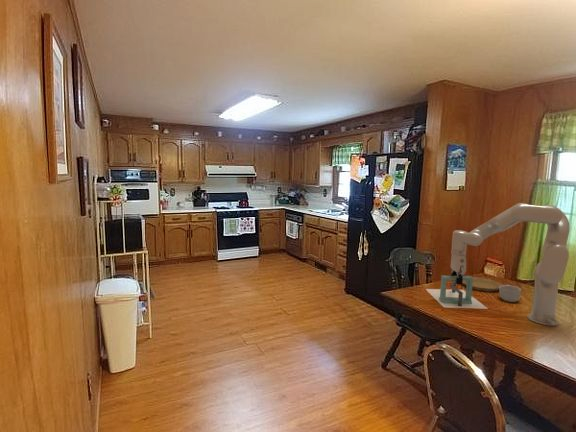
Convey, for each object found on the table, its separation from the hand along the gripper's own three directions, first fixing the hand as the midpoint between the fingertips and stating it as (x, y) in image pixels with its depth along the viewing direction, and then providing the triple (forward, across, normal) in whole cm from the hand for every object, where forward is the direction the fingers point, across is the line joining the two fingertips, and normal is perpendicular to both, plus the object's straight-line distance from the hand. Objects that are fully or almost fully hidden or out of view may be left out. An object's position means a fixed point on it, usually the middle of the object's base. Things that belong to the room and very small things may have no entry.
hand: (456, 282), depth 190 cm
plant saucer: (+14, +33, -31) cm, 47 cm away
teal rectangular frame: (+12, 0, 0) cm, 12 cm away
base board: (+13, +6, -2) cm, 15 cm away
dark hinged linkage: (+12, +5, -3) cm, 13 cm away
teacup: (+14, +10, -36) cm, 40 cm away
